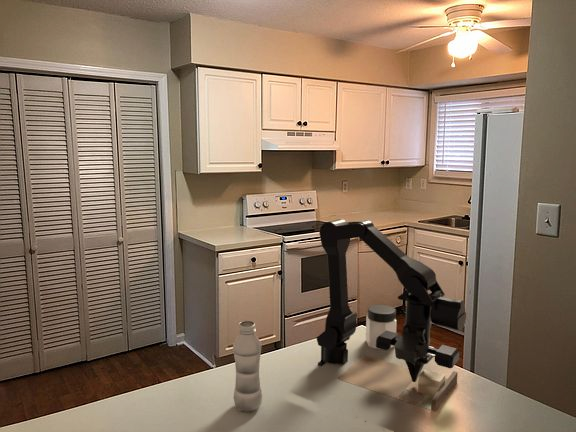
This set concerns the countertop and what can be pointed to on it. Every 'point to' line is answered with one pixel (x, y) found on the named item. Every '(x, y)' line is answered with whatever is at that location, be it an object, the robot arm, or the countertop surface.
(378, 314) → the jar
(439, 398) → the board
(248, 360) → the plastic bottle
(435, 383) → the block
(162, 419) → the countertop surface
